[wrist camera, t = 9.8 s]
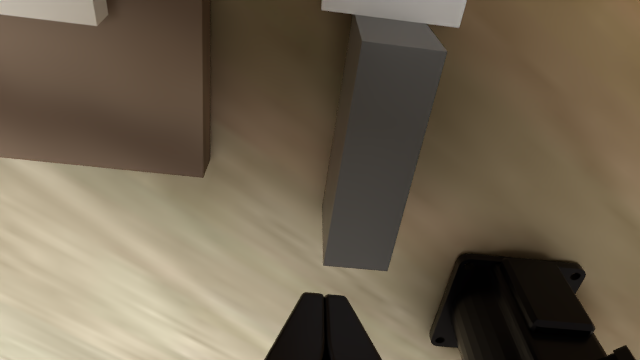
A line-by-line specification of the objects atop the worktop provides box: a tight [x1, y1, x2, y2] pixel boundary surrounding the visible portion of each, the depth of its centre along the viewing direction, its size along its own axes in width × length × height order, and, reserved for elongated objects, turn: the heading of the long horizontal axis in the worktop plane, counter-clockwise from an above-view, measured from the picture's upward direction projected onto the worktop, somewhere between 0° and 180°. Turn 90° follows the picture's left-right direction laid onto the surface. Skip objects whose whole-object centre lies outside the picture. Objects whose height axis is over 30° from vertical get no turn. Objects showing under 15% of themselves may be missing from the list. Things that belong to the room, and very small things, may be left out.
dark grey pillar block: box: [321, 0, 467, 271], centre depth 17 cm, size 16×5×4 cm, turn 173°
